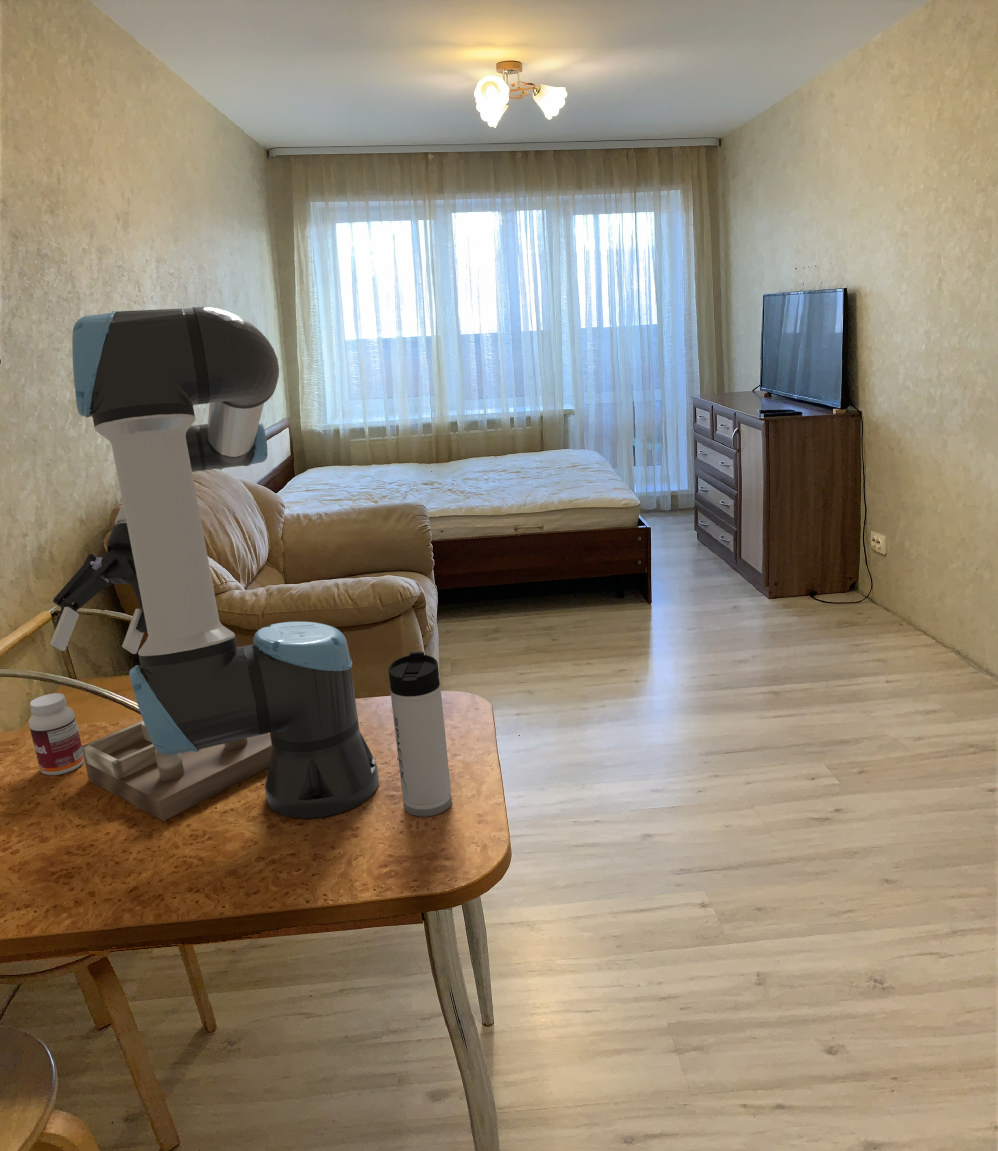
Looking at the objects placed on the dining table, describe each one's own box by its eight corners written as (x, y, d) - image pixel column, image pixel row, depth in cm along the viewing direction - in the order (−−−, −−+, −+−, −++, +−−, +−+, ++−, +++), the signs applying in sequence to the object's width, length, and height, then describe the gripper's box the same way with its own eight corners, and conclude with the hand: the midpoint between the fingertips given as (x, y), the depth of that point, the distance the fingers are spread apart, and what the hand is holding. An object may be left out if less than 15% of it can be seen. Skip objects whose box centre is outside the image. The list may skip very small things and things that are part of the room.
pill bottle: (35, 767, 134) (19, 700, 131) (78, 752, 137) (63, 687, 134) (46, 781, 129) (29, 712, 126) (90, 766, 133) (75, 698, 130)
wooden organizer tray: (286, 757, 131) (279, 714, 129) (163, 821, 116) (153, 773, 114) (208, 726, 143) (201, 686, 141) (88, 780, 128) (79, 736, 126)
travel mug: (455, 790, 118) (441, 650, 112) (448, 817, 112) (433, 670, 106) (409, 791, 119) (393, 652, 113) (399, 818, 112) (382, 672, 107)
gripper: (213, 543, 148) (174, 661, 139) (89, 543, 155) (44, 655, 146) (188, 520, 142) (146, 641, 132) (61, 521, 149) (12, 636, 139)
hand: (92, 649), depth 139 cm, fingers open, 13 cm apart
